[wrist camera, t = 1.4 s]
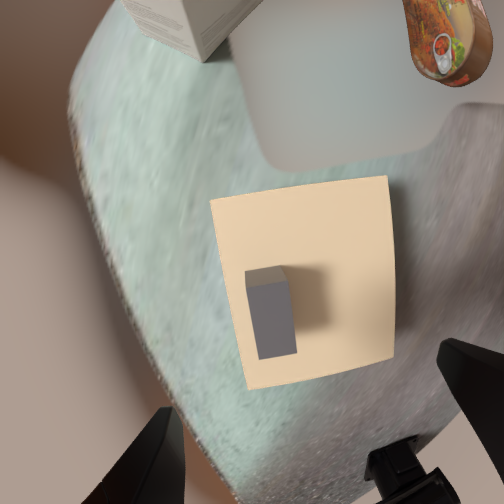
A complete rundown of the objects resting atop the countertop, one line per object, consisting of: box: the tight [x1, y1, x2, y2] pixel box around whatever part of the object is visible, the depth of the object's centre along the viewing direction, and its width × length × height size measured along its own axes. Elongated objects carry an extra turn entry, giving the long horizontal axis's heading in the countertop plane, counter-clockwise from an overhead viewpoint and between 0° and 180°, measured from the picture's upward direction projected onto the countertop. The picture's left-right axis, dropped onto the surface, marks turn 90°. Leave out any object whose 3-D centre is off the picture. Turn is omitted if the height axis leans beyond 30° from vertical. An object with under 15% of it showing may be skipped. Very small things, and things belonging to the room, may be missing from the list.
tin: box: [402, 0, 493, 87], centre depth 13 cm, size 15×3×8 cm, turn 175°
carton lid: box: [210, 175, 395, 390], centre depth 16 cm, size 12×10×4 cm
